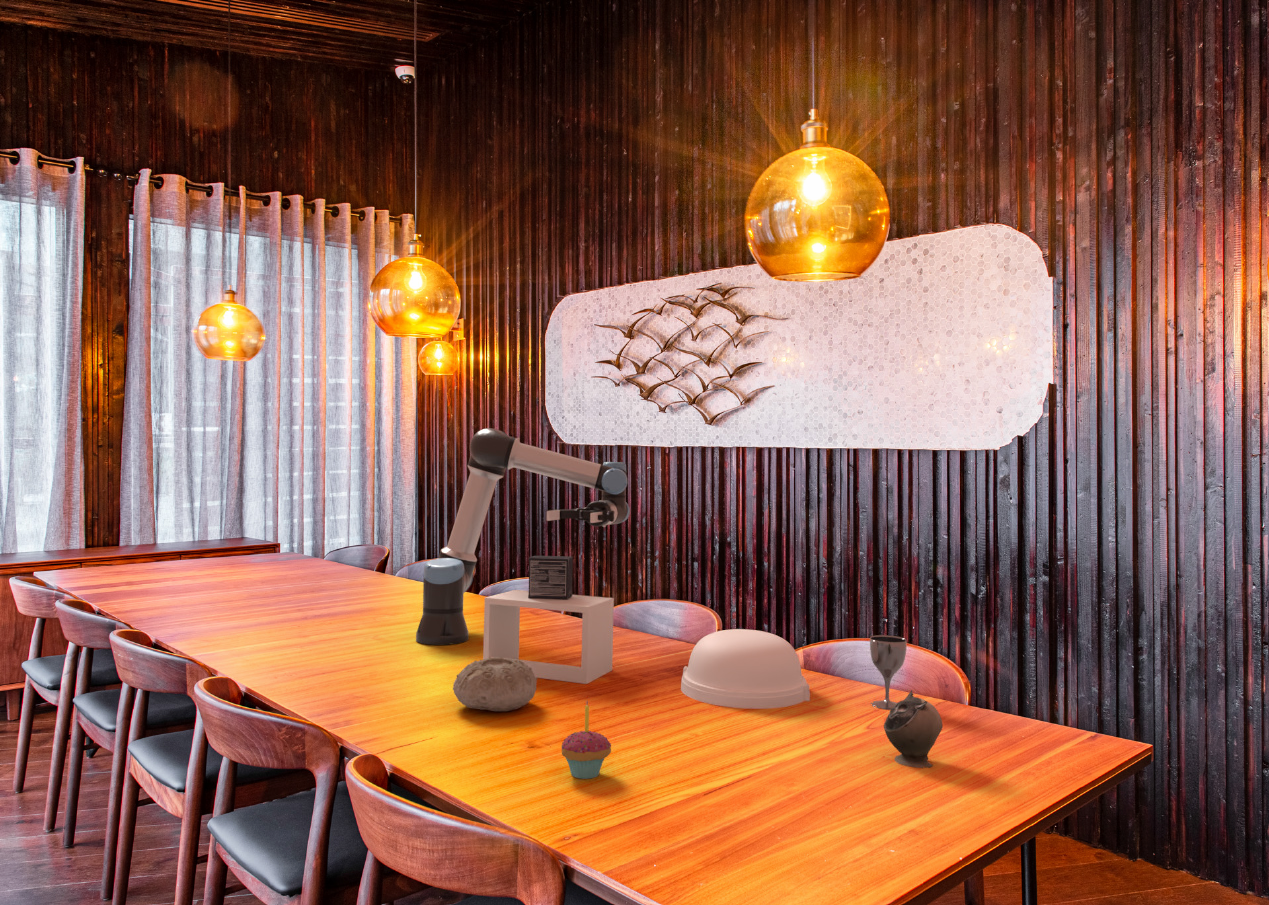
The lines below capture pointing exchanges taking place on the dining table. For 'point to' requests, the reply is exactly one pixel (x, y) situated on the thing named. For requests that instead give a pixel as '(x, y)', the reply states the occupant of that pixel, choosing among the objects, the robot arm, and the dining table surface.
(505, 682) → the decorative shell
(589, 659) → the cubby
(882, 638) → the wine glass
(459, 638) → the robot arm
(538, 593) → the small box
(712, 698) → the dome cover
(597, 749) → the cupcake
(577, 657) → the dining table surface
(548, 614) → the dining table surface
